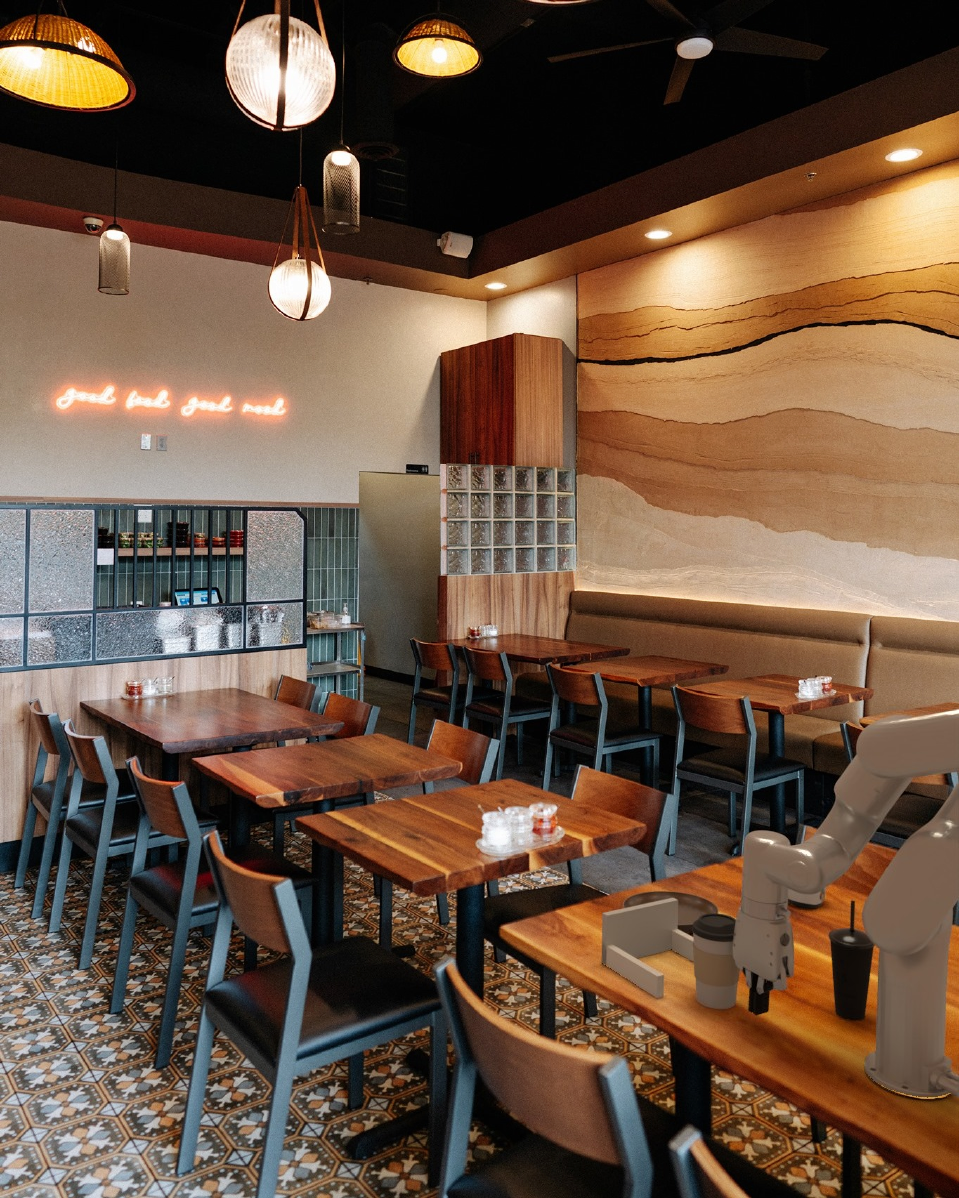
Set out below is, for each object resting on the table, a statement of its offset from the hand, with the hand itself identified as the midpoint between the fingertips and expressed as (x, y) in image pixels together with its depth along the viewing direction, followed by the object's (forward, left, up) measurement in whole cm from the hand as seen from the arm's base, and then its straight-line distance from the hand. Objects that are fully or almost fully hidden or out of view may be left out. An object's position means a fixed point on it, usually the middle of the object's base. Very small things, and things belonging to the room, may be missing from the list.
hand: (758, 1011), depth 158 cm
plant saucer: (+43, -18, -3) cm, 47 cm away
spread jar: (+38, -53, -3) cm, 66 cm away
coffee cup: (+10, 0, -3) cm, 11 cm away
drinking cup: (-5, -17, -3) cm, 18 cm away
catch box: (+23, 0, -2) cm, 23 cm away
